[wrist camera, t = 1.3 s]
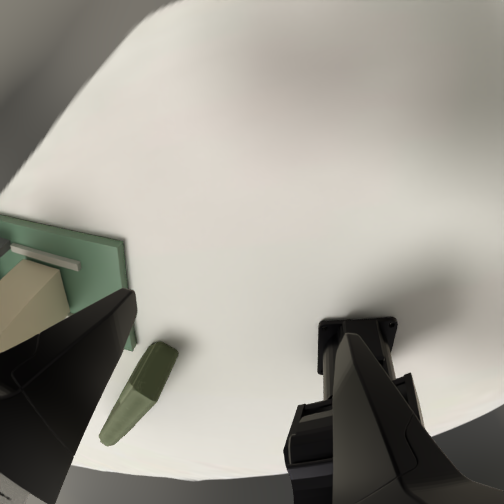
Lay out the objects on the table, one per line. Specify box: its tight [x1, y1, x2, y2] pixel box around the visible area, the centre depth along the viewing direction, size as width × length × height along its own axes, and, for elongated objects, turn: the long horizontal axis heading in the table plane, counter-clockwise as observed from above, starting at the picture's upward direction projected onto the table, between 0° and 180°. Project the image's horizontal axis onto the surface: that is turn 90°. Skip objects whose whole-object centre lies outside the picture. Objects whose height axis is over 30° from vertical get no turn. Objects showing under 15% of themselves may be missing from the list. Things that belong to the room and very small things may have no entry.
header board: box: [0, 215, 136, 352], centre depth 24 cm, size 20×12×6 cm, turn 82°
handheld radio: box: [99, 341, 178, 446], centre depth 32 cm, size 7×3×25 cm
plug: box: [0, 259, 70, 353], centre depth 20 cm, size 5×5×13 cm
